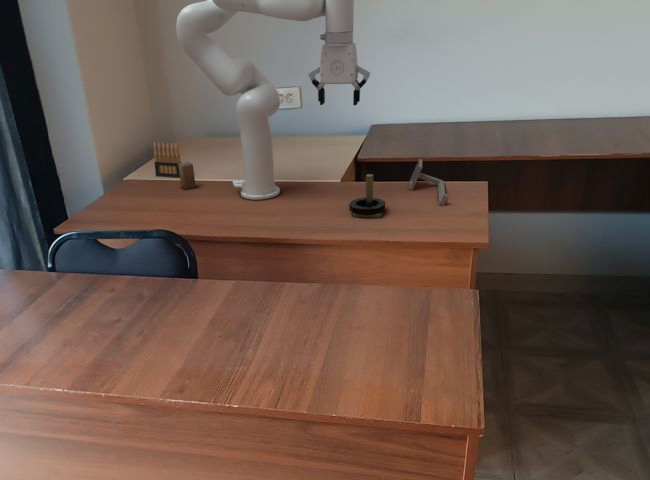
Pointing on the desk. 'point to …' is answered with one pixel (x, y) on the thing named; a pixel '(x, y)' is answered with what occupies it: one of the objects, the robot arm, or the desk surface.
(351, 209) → the black ring
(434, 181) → the toilet paper hanger
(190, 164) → the wooden block
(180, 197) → the desk surface
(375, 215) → the post
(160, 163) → the ammunition clip
